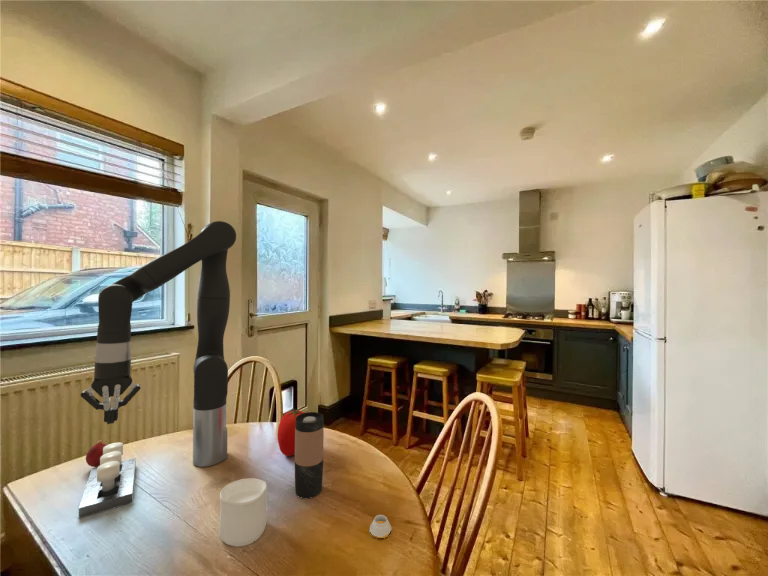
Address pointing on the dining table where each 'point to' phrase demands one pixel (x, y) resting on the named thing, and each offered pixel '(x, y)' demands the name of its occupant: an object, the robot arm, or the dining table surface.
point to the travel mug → (309, 454)
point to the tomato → (288, 432)
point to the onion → (95, 454)
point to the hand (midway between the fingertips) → (110, 422)
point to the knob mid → (111, 457)
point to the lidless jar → (380, 526)
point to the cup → (243, 511)
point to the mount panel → (106, 500)
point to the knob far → (113, 448)
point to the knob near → (108, 474)
